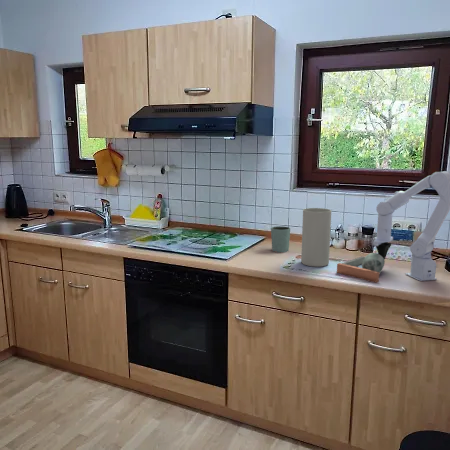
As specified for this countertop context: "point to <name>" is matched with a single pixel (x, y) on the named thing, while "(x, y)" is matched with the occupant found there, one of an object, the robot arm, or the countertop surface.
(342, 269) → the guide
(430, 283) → the countertop surface
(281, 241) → the green cup
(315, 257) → the cylinder vase
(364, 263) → the grey-green rounded piece
